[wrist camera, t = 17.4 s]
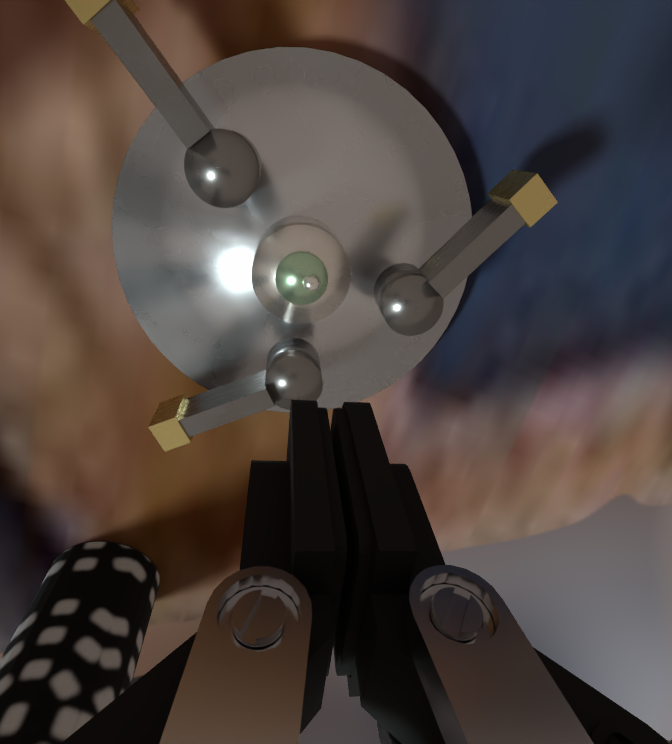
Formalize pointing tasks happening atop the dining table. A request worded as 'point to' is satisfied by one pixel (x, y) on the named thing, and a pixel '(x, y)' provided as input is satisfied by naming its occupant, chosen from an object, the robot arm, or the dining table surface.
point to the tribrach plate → (301, 172)
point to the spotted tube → (76, 642)
